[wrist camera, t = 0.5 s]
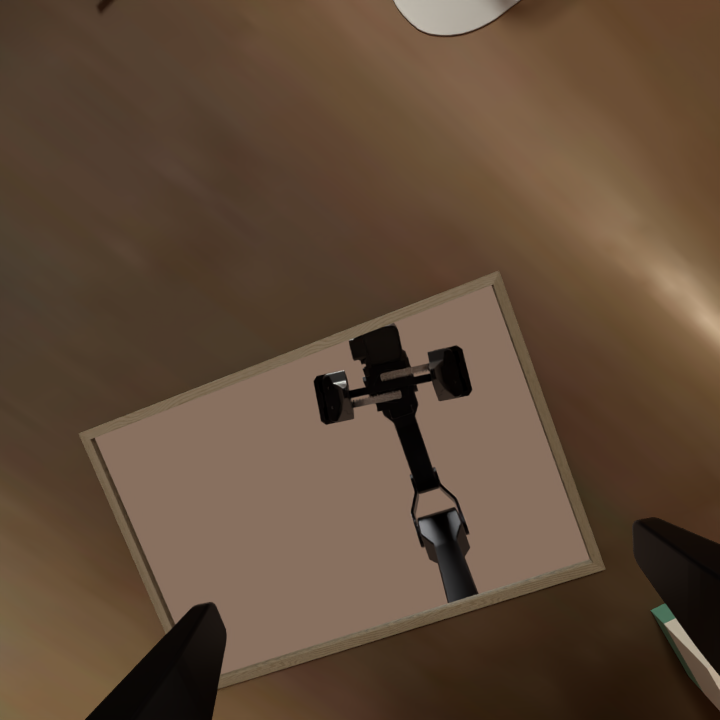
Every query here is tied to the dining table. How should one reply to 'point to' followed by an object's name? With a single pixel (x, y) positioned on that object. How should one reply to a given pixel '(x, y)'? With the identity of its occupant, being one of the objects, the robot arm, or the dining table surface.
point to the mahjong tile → (689, 655)
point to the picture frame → (351, 485)
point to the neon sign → (451, 14)
